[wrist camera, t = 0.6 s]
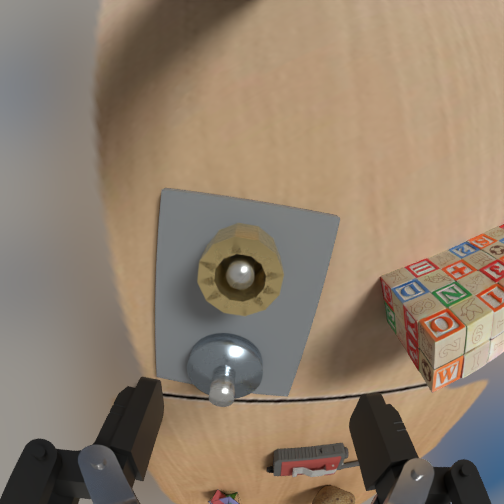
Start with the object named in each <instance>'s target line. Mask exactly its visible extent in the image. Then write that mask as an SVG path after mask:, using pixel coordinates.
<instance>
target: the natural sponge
mask: <svg viewBox="0 0 504 504" xmlns="http://www.w3.org/2000/svg"><path fill="white" fill-rule="evenodd" d="M312 504H355V497H354V495H353V494H352V493H350V492H347V491H344V490H342V489H340V488H337V487H335V486H325V487H323V488H322V489H321V490H320V491H319V492H318V494H317V495H316V497H315V499H314V500H313V503H312Z"/></svg>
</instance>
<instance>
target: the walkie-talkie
mask: <svg viewBox="0 0 504 504" xmlns="http://www.w3.org/2000/svg"><path fill="white" fill-rule="evenodd" d="M346 458H348V449H347V448H346V447H345V448H344V445H343V443H336V444H329V445H320V446H314V447H313V446H312V447H301V448H288V449H286V448H285V449H277V450H275V451H274V461H273V466H270V467H267V472H269V473H274V476H290V475H292V477H296V476H297V475H303V474H305V475H307V476H310V477H316V476H323V475H331V474H334V473H335V472H336V470H341V469H343V468H349V467H355V466H359V462H358V461H356V462H350V463H344V464H343V461H344V459H346Z"/></svg>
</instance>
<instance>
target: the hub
mask: <svg viewBox="0 0 504 504" xmlns="http://www.w3.org/2000/svg"><path fill="white" fill-rule="evenodd" d="M187 373H188V376H189V379H190V380H191V382H192V383H193V384H194V385H195V386H196V387H197V388H198V389H199V390H201V391H202V392H204V393H206V394H208V395H209V401H210V402H211V403H212V404H214V405H216V406H220V407H226V406H229V405H231V404H232V403H233V401H234V398H240V397H243V396H246V395H248V394H250V393H252V392H253V391H255V390H256V389H257V388H258V386H259V385H260V383H261V381H262V378H263V360H262V356H261V353H260V351H259V350H258V348H257V347H256V346H255V345H254V344H253V343H252V342H250V341H249V340H247V339H246V338H244V337H241V336H239V335H235V334H230V333H216V334H211V335H208V336H206V337H204V338H202V339H200V340H199V341H198V342H197V343H196V344H195V345H194V346H193V348H192V350H191V354H190V357H189V360H188V364H187Z"/></svg>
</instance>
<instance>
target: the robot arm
mask: <svg viewBox="0 0 504 504" xmlns="http://www.w3.org/2000/svg"><path fill="white" fill-rule="evenodd" d="M163 413H164V402H163V394H162V386H161V381H160V380H156V379H151V378H146V377H141V378H140V380H139V382H138V384H137V386H136V388H133V387H129V386H128V387H126V388H125V389H124V390H123V391H121V392H120V393H119V394H118V396H117V398H116V400H115V402H114V405H113V406H112V408H111V410H110V413H109V414H108V416H107V418H106V420H105V422H104V424H103V426H102V428H101V430H100V433H99V435H98V437H97V439H96V441H95V442H94V443H93V445H90V446H87V447H85V448H84V449H82V450H80V451H70V450H61V449H56V448H55V447H54V445H53V444H52V443H51V442H49V441H47V440H45V439H35V440H32V441H30V442H29V443H28V444H27V445H26V446H25V448H24V450H23V452H22V454H21V456H20V458H19V460H18V462H17V464H16V466H15V468H14V470H13V472H12V474H11V476H10V478H9V480H8V483H7V485H6V487H5V489H4V492H3V494H2V496H1V499H0V504H78V502H79V499H80V498H85V499H92V501H93V504H140V502H139V500H138V499H137V497H136V495H135V493H134V491H133V489H132V487H133V484H134V481H135V479H136V480H140V481H144V477H145V474H146V470H147V467H148V464H149V460H150V457H151V454H152V451H153V447H154V444H155V441H156V438H157V434H158V431H159V428H160V425H161V422H162V418H163ZM349 429H350V433H351V437H352V440H353V444H354V447H355V451H356V455H357V458H358V462H359V466H360V469H361V473H362V477H363V481H364V485H365V489H366V491H369V490H374V489H376V492H377V494H376V495H375V497H374V499H373V500H372V502H371V504H450V502H452V504H491V502H490V499H489V497H488V494H487V491H486V489H485V487H484V484H483V482H482V479H481V477H480V475H479V472H478V470H477V468H476V466H475V465H474V464H473V463H472V462H471V461H469V460H464V459H463V460H458V461H457V462H455V463H454V464H453V465H452V467H433V466H432V465H431V464H430V463H429V462H428V461H426V460H424V459H421V458H419V457H418V455H417V453H416V451H415V448H414V446H413V444H412V441H411V439H410V437H409V435H408V432H407V430H406V428H405V426H404V423H402V419H401V417H400V415H399V413H398V411H397V410H396V409H395V408H394V407H393V406H392V405H391V404H386V403H385V401H384V399H383V397H382V395H381V394H380V393H375V394H363V395H361V397H360V399H359V401H358V403H357V405H356V407H355V409H354V411H353V414H352V416H351V418H350V422H349Z"/></svg>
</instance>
